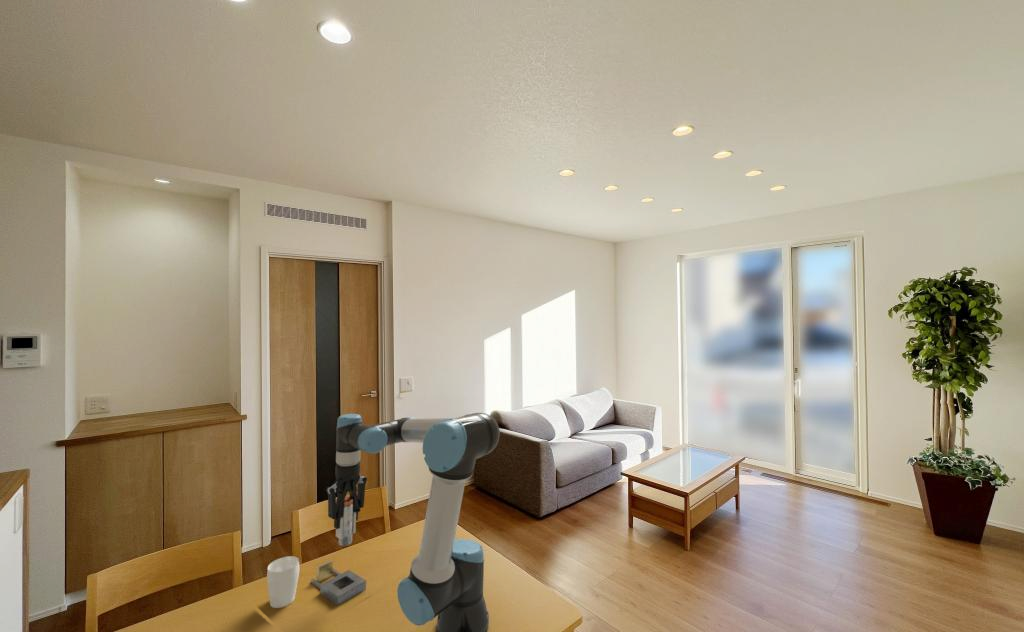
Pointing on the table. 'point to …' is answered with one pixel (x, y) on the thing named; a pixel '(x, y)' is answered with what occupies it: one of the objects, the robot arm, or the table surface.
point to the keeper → (324, 570)
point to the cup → (282, 581)
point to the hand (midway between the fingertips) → (345, 534)
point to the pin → (347, 521)
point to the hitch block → (332, 586)
